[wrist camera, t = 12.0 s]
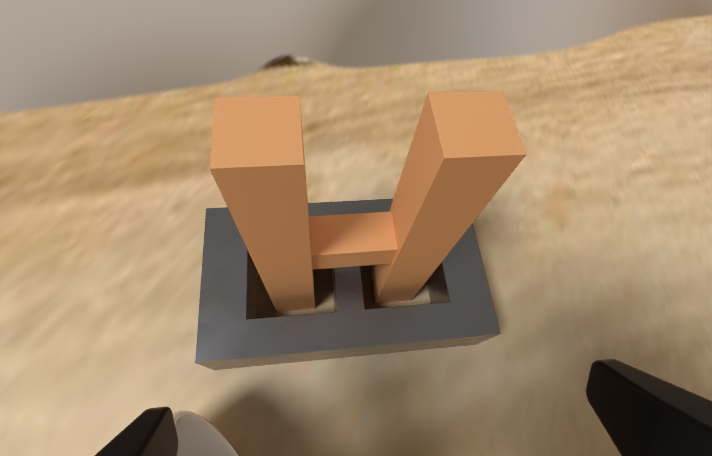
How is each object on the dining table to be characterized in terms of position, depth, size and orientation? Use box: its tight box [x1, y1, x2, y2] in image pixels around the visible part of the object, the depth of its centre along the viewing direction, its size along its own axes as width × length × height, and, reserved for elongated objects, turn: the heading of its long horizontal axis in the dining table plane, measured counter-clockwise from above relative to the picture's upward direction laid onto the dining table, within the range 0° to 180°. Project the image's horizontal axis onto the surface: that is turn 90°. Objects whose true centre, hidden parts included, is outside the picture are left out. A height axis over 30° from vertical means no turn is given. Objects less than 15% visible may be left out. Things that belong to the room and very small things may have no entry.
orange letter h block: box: [210, 91, 526, 311], centre depth 15 cm, size 7×2×13 cm, turn 96°
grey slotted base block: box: [195, 199, 501, 370], centre depth 19 cm, size 13×7×3 cm, turn 96°
